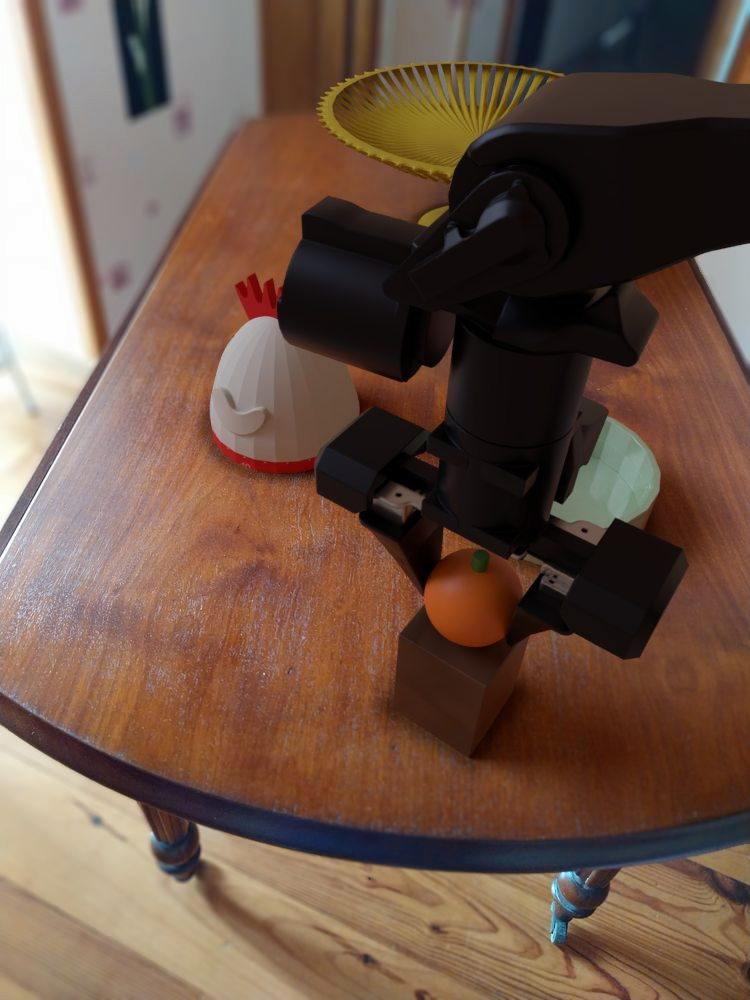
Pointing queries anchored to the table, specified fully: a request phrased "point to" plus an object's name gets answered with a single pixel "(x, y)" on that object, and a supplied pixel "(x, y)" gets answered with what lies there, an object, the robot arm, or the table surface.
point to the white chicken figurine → (276, 392)
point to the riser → (453, 682)
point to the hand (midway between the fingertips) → (470, 615)
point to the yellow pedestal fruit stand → (423, 118)
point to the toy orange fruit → (472, 597)
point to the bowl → (613, 482)
